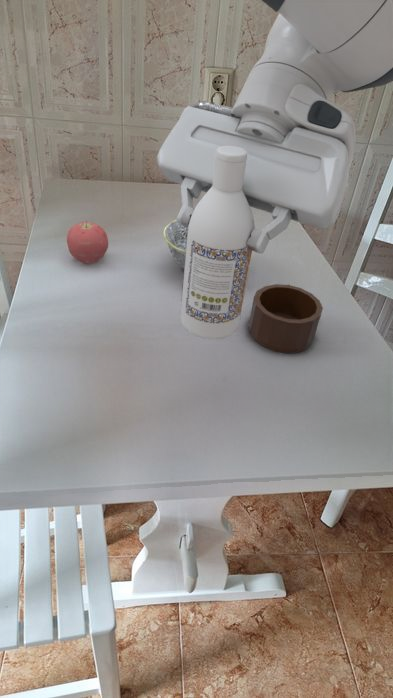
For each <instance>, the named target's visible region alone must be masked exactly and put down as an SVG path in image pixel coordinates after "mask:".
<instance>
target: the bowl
mask: <svg viewBox="0 0 393 698" xmlns="http://www.w3.org/2000/svg"><path fill="white" fill-rule="evenodd" d="M187 230H188V228H187V227H184V226H181V225H180V224H179V223H178V222H177V218H176V219H174V220H172V221H170V222H169V223H168V224H167V225H165V227H164V229H163V238H164V239H165V242H166V243H167V246H168V249H169V252H170V254H171V256H172V258H173V259H174V261H175V263H177V265H178V266H179V267H181V268H182V269H183V270H184V265H185V253H186V242H187Z"/></svg>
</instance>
